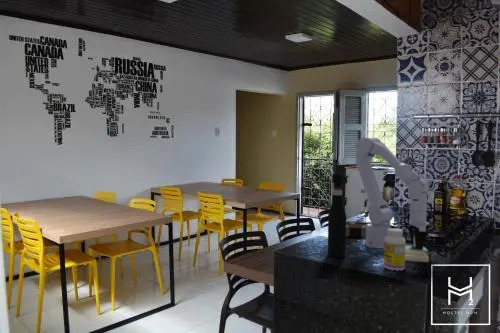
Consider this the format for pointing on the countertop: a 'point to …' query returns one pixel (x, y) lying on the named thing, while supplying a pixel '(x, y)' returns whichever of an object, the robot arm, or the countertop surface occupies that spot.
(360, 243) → the countertop surface
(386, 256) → the supplement bottle
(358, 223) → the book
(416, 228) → the spice jar
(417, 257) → the tray
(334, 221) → the wine bottle
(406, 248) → the tensioner block
